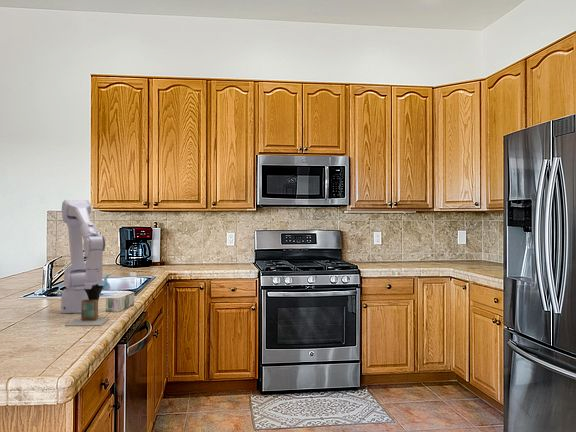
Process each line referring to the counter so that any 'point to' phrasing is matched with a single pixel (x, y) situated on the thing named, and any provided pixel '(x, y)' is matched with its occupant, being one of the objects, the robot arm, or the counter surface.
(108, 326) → the counter surface
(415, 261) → the counter surface
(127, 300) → the syrup box
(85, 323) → the grey mat
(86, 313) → the walnut slab
